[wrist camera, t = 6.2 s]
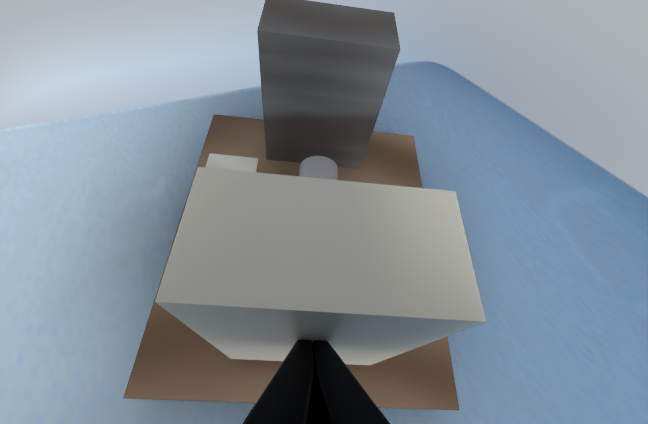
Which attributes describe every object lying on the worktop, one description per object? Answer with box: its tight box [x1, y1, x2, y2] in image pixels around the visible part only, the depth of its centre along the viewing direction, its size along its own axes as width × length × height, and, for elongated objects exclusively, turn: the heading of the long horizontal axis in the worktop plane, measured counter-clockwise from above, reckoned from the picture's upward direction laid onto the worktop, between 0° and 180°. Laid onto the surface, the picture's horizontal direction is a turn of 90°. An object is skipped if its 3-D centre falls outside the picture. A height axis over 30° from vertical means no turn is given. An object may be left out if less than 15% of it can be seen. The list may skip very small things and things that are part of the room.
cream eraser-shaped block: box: [155, 156, 486, 365], centre depth 11 cm, size 7×6×9 cm
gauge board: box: [123, 0, 459, 410], centre depth 14 cm, size 16×14×10 cm
